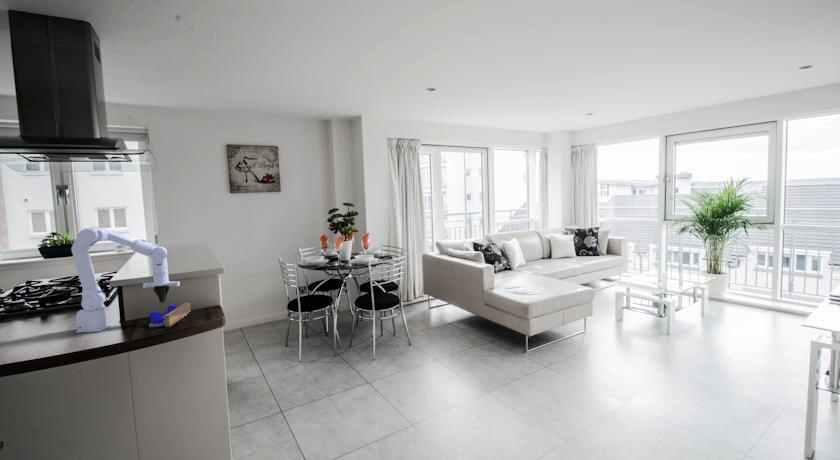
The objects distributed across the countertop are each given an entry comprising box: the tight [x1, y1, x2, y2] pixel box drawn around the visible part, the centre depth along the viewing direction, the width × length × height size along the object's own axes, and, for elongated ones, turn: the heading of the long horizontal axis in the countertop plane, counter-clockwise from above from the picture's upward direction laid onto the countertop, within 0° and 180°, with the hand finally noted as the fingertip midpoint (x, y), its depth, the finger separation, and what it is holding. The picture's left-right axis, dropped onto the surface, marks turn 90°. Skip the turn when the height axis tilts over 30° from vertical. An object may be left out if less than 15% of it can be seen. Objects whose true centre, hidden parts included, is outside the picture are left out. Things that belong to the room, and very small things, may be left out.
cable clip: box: [149, 304, 177, 324], centre depth 175 cm, size 12×4×6 cm, turn 175°
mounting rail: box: [148, 321, 165, 328], centre depth 176 cm, size 7×18×2 cm, turn 9°
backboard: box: [164, 302, 192, 328], centre depth 177 cm, size 2×21×5 cm, turn 9°
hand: (162, 302), depth 175 cm, fingers closed
